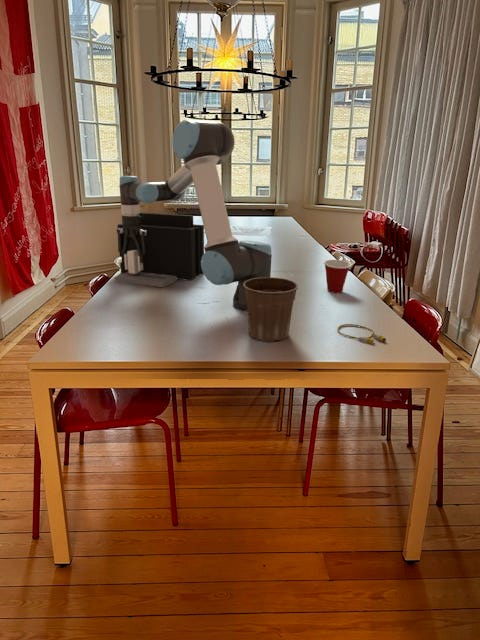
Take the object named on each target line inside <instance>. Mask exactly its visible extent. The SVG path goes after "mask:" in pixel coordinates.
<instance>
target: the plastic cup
mask: <svg viewBox="0 0 480 640" xmlns="http://www.w3.org/2000/svg"><path fill="white" fill-rule="evenodd" d="M323 264H324V268H325V269H324V270H325V277H326V278H325V280H326V287H327V288H326V289H327V292H328V293H332V294H341V293H342V292H343V290H344V286H345V283H346V279H347V276H348V273H349V270H350V268H351V266H352V264H351V262H348V261H345V260H340V259H327V260H324V261H323Z"/></svg>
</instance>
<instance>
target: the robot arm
mask: <svg viewBox="0 0 480 640" xmlns="http://www.w3.org/2000/svg"><path fill="white" fill-rule="evenodd" d="M233 133H234V132H233V131H232V129H231V128H230V127H229V126H228V125H226V124H225V123H224V122H220V121H211V120H200V119H199V120H198V119H194V118H193V119H184V120H182V121H180V122H179V123H178V124H177V125H176V127H175V129H174V131H173V135H172V142H171V143H172V151H173V152H174V155H175V156H177V158H180V159H182V160H183V163H184V164H183V165H182V166H181V167H180V168H178V170H176V171H175V172H174V173H173V174H172V175H171V176H170V177H169V178H168V179H167V180H166V181H148V182H147V181H145V182H143V181H142V182H141V181H140V182H139V177H138V176H137V175H121V176H120V177H119V195H120V196H119V197H120V211H121V212H120V213H121V215H122V216H121V224H123V227H122V228H120V229H118V228H117V229H116V233H117V252H119V253H120V252H121V253H122V254H123V261H125V269H126V270H127V269H128V257H127V251H128V247H129V243H130V239H131V237H132V238H133V239H134V240H135V243H136V247H137V250H138V253H139V255H138V256H137V257H138V271H141V270H143V263H144V255H145V254H148V246H147V230H145V231H144V230H142V229H141V227H140V224H141V221H140V215H139V214H140V212H141V209H140V207H141V205H140V203H144V204H152V203H154V202H170V201H172V202H173V201H174V202H175V201H179V200H182V199H183V198H184V197H185V194H186V190H187V189H188V188H190V187H191V186H192V185H193V187H194V191H195V194H196V198H197V203H198V207H199V211H200V215H201V219H202V225H204V234H205V237H206V240H207V242H206V244H205V245H204V254H203V256H202V258H201V259H202V261H201V268H202V271H203V274H202V275H204V277H205V278H206V280H207V281H208V282H210V283H211V284H212V285H215V286H222V285H230V284H232V283H237V285H236V289H235V291H234V294H233V298H232V305H233V306H234V307H235V308H237V309H241V310H245V311H248V310H247V299H246V296H245V288H244V286H243V283H244V282H245V281H247V280H249V279H253V278H260V277H271V275H272V274H271V273H272V256H273V255H272V245H270V243H267V242H264V241H263V242H262V241H255V240H240V241H239V240H238V239H237V238H236V237H235V236H233V234H232V229H231V224H230V219H229V217H228V216H229V215H228V211H227V207H226V203H225V199H224V194H223V188H222V186H221V181H220V176H219V173H218V172H219V171H218V169H217V168H218V167H217V166H218V165H221V164H223V163H224V162H225V161H226V160H228V158H229V157H230V156H231V154H232V153H233V151H234V148H235V142H236V141H235V136H234V134H233ZM123 232H124V233H125V237H124V234H123ZM140 233H141V241H140V235H139V234H140ZM136 237H137V238H136ZM124 239H125V240H124ZM141 242H142V244H141Z"/></svg>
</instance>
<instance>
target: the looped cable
mask: <svg viewBox="0 0 480 640" xmlns="http://www.w3.org/2000/svg"><path fill="white" fill-rule="evenodd" d="M341 326H345V327H353V326H360V327H363V328H362V329H364V328H366V329H365V330H367V329H368V331H369V330H370V331H369V332H371V331H372V332H373V333H372V332H371V335H370V336H368V337H366V336H359V337H357V336H353V335H349V334H345V333H342V332H341V331H340V329H341V328H342V327H341ZM340 327H341V328H340ZM360 327H359V328H360ZM339 328H340V329H339ZM337 333H339V334H340V335H339V334H338V335H339V336H341V335H342V336H341V337H343V336H344V338H347V337H349V338H348V339H354V338H357V340H358V341H360V342H362V341H363V343H365V342H366V343H365V344H369V343H370V344H369V345H372V344H374V343H373V342H374V340H376V339H377V340H376V341H378V342H381V343H383V341H384V343H386V341H387V339H386V337H384V336H383V335H381V334H377V333H375V331H374V330H373V329H371V328H369V327H367V326H363V325H359V324H354V323H345V324H340V325H339V326H338V327H337ZM372 337H373V338H374V339H373V338H372Z"/></svg>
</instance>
